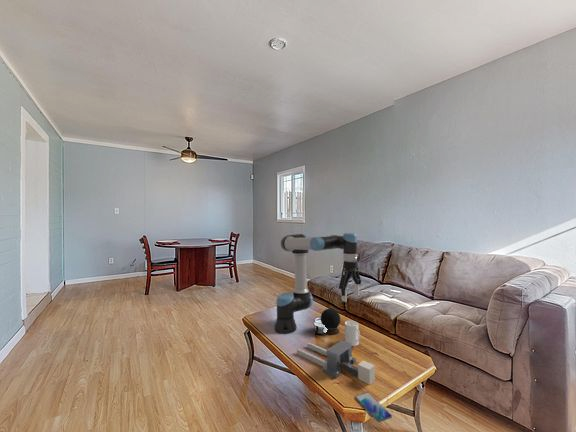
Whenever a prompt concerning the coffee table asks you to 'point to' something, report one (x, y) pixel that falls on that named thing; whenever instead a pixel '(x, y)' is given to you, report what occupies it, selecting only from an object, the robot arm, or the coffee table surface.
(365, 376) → the plug
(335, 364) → the housing
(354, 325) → the mug
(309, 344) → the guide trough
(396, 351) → the coffee table surface
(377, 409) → the smartphone
